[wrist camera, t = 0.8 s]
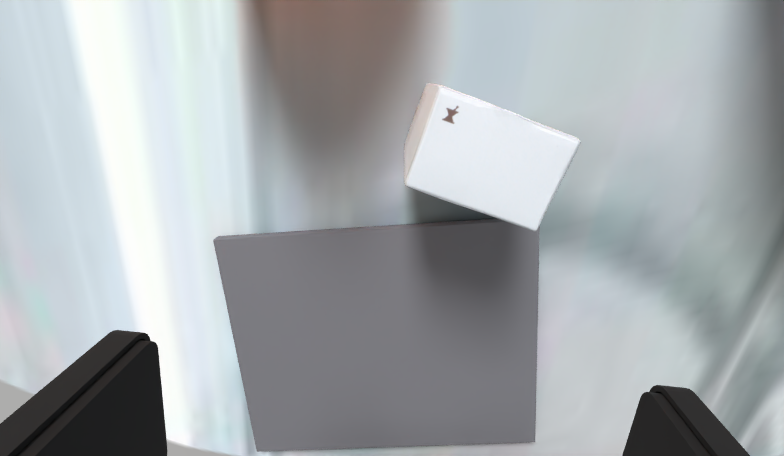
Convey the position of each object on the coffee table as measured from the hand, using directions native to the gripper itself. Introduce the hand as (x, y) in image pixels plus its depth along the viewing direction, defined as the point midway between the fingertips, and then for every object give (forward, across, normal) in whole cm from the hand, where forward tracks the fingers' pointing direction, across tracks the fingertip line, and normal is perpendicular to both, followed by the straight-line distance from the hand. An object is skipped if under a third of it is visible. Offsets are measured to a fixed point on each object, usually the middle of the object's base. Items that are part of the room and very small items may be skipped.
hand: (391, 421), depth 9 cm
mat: (+22, +1, +12) cm, 26 cm away
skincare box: (+23, -3, -3) cm, 23 cm away
